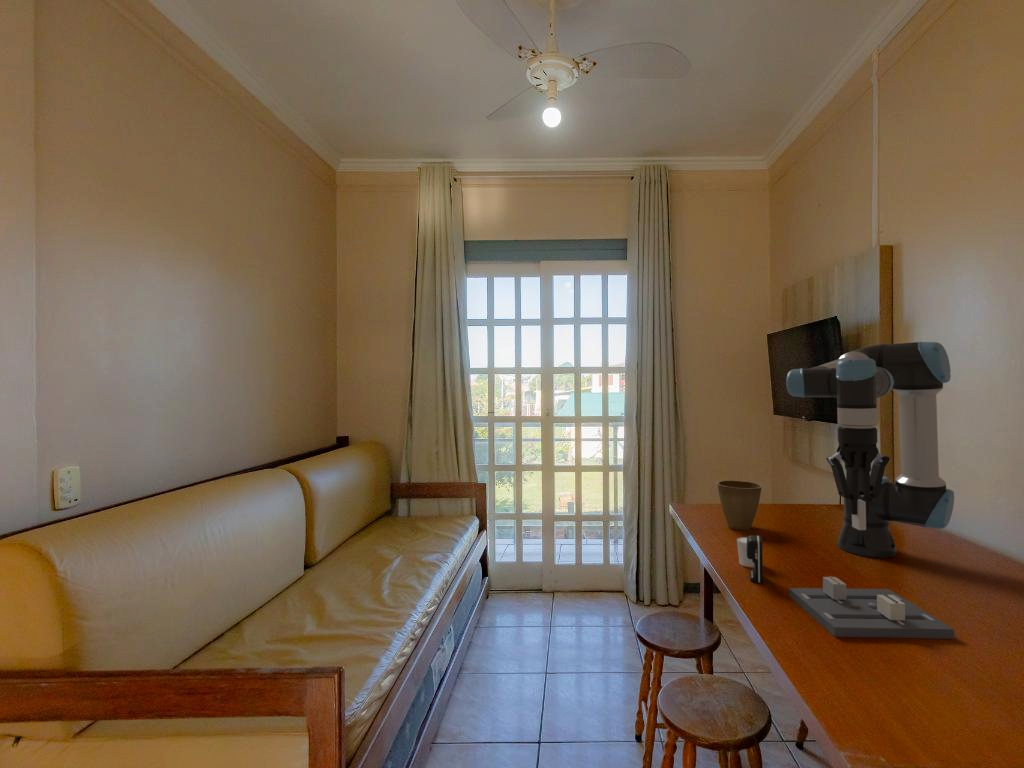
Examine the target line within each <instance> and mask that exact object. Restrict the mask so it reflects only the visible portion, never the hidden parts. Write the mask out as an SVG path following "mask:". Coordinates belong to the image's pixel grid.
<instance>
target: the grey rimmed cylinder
mask: <svg viewBox="0 0 1024 768" xmlns="http://www.w3.org/2000/svg"><path fill="white" fill-rule="evenodd" d="M747 537H748V536H746V537H745V536H743V537H742V536H741V537H738V538H736V543H737V544H736V545H737V553H738V562H739V563H738V564H740V565H741V566H743V567H747V568H754V565H755V564H754V562H752V559H748V558H747V552H746V547H747Z"/></svg>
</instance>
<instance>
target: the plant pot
mask: <svg viewBox="0 0 1024 768" xmlns="http://www.w3.org/2000/svg"><path fill="white" fill-rule="evenodd" d="M762 487H763V486H762V485H761V484H760V483H756V482H752V481H751V482H750V481H745V480H721V481H718V482H717V491H718V496H719V502H720V505H721V509H722V511H723V516H724V519H725V521H726V524H727V526H728V527H729V528H730V529H734V530H739V531H748V530H750V529H751V528H752V526H753V523H754V520H755V518H756V516H757V515H756V514H757V512H758V511H757V510H758V509H759V508H758V507H759V503H760V499H761V494H762Z"/></svg>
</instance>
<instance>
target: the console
mask: <svg viewBox="0 0 1024 768" xmlns="http://www.w3.org/2000/svg"><path fill="white" fill-rule="evenodd" d="M884 594H886V595H892V596H893V597H895V598H897V599H898V600H900V601H901V602H903V603H905V620H890V619H888V618H887V617H885V616H884V615H883V614H881V613H880V612H878V611H877V595H884ZM788 596H789V598H791V599H792V600H793V601H794V602H795V603H796V604H798V606H800V607H801V608H802V609H803V610H804V611H805V612H806V613H808V614H809V616H811V617H812V618H813V619H814V620H816V622H818V624H819V625H821V626H822V627H823V628H824V629H825V630H827V632H829V633H830V635H832V636H833V637H835V638H837V637H839V638H882V639H884V638H889V639H891V638H892V639H894V638H895V639H899V638H900V639H941V640H942V639H947V640H949V639H951V640H954V639H955V629H954V628H953V627H952V626H949V625H948V624H946V623H944V622H943V621H942V620H940V619H938V618H937V617H935V616H933V615H932V614H930V613H928V612H926V611H925V610H924V609H921V608H920V607H919V606H917V605H916V604H914V603H912V602H911V601H909V600H907V599H905V598H904V597H903V596H901V595H899V594H897V593H895V592H894V591H893V590H891V589H889V588H887V589H886V588H846V600H844V599H832V598H831V597H830V596H828V595H827V594H826V593H824V592H823V587H821V588H820V587H819V588H818V587H817V588H816V587H812V588H811V587H802V588H801V587H788Z"/></svg>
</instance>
